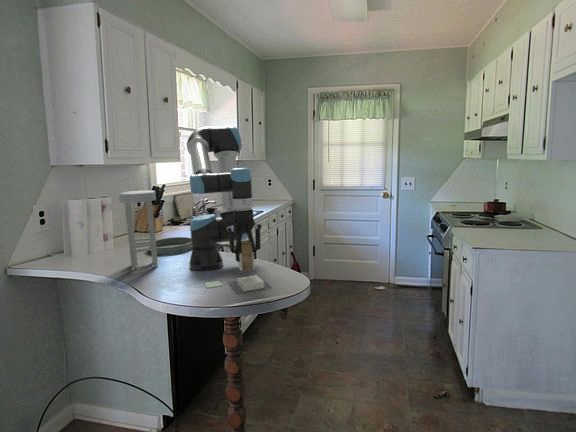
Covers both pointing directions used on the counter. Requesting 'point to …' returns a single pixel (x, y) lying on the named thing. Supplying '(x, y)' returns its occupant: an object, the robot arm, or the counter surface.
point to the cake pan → (173, 245)
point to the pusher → (246, 255)
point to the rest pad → (213, 284)
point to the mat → (240, 291)
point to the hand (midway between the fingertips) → (246, 268)
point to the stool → (128, 199)
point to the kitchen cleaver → (225, 244)
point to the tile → (250, 283)
